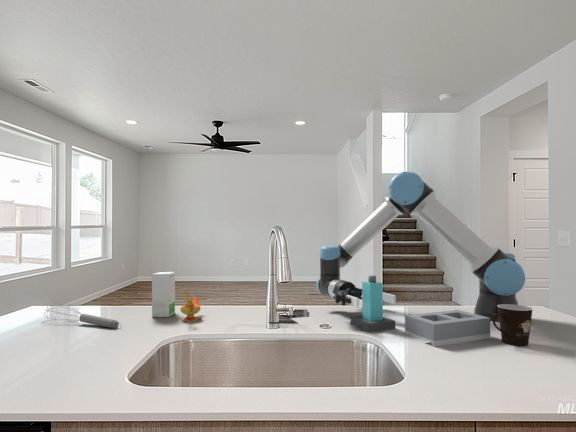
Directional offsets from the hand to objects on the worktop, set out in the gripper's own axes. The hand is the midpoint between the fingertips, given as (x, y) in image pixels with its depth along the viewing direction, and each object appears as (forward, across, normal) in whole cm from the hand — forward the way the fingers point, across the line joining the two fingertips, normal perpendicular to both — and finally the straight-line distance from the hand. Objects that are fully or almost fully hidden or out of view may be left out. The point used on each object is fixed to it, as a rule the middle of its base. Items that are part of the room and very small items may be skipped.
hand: (376, 301), depth 122 cm
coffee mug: (+23, -28, -10) cm, 38 cm away
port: (+12, -16, -9) cm, 22 cm away
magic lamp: (-39, +51, -10) cm, 65 cm away
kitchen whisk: (-45, +86, -10) cm, 98 cm away
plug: (-3, 0, -8) cm, 9 cm away
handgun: (-28, +18, -10) cm, 35 cm away
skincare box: (-48, +60, -10) cm, 78 cm away
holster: (-3, 0, -9) cm, 10 cm away
